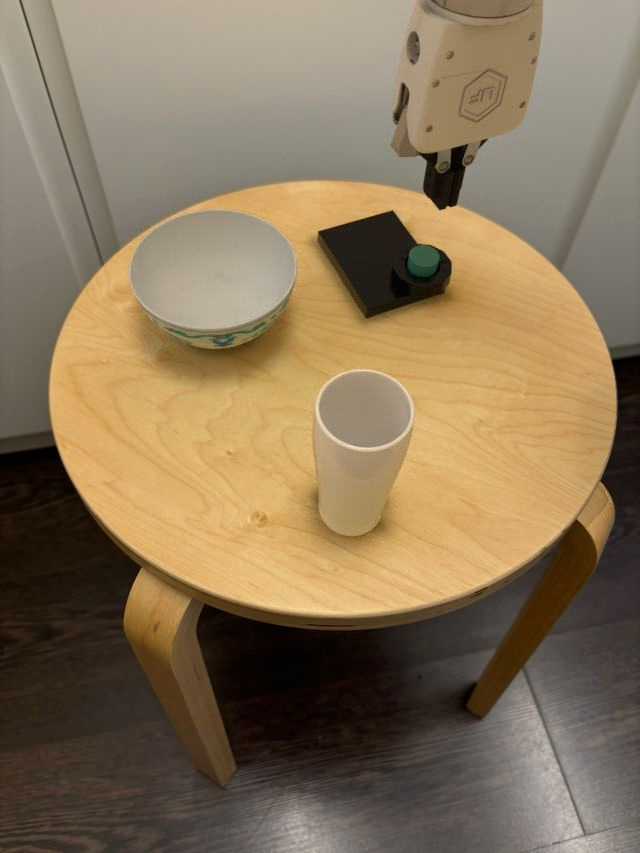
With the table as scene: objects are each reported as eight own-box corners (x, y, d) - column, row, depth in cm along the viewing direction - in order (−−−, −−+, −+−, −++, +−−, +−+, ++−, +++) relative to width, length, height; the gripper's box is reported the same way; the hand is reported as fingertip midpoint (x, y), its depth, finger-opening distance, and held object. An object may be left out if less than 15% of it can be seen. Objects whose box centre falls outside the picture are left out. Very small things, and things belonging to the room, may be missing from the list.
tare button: (427, 253, 72) (430, 241, 71) (442, 272, 70) (445, 261, 69) (401, 261, 71) (403, 249, 70) (415, 281, 70) (418, 269, 68)
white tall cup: (300, 536, 57) (302, 438, 45) (320, 466, 61) (326, 357, 48) (382, 556, 56) (407, 462, 44) (397, 484, 60) (424, 378, 48)
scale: (399, 217, 79) (402, 195, 76) (457, 297, 72) (462, 275, 70) (317, 241, 76) (318, 219, 74) (370, 325, 70) (372, 304, 67)
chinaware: (122, 297, 71) (105, 238, 64) (257, 250, 75) (253, 191, 68) (178, 406, 64) (165, 353, 57) (323, 348, 68) (326, 292, 61)
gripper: (411, 24, 44) (384, 248, 59) (606, -18, 48) (533, 203, 63) (359, -29, 48) (346, 194, 63) (543, -65, 51) (489, 155, 67)
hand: (439, 198), depth 63 cm, fingers closed
